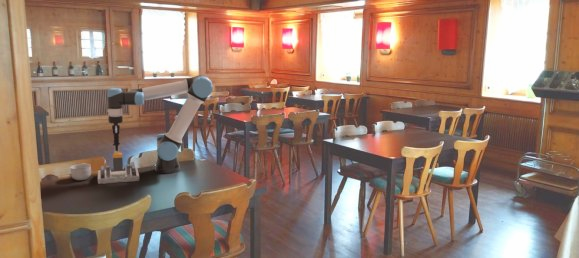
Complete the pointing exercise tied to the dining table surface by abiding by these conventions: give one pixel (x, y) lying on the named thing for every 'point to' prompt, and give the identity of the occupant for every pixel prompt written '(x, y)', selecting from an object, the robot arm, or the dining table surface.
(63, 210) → the dining table surface
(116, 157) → the lever
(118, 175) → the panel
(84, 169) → the teacup
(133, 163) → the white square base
